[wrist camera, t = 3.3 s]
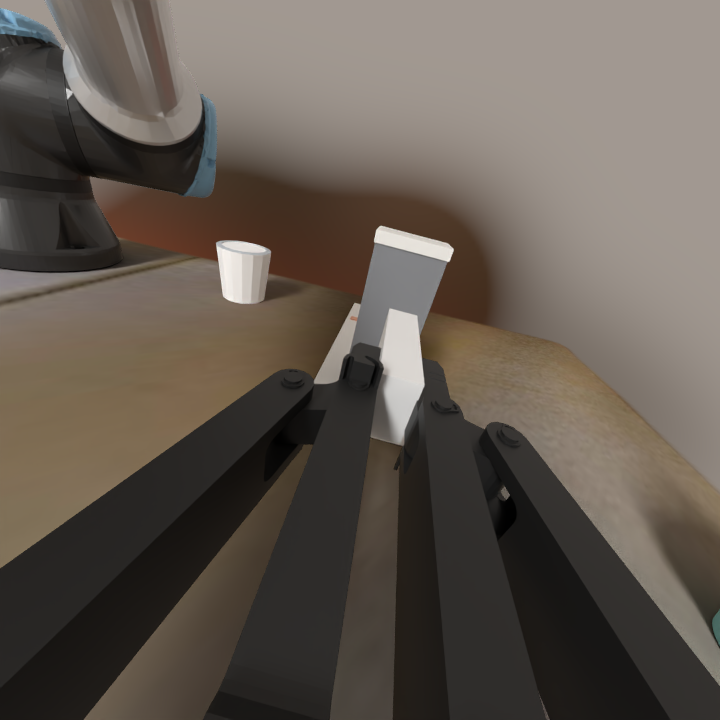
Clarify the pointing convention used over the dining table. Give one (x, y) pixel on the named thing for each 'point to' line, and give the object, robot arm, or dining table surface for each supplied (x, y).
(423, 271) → the fader tab
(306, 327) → the dining table surface
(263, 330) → the dining table surface
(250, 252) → the white cup
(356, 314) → the fader base
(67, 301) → the dining table surface
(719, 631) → the cupcake
